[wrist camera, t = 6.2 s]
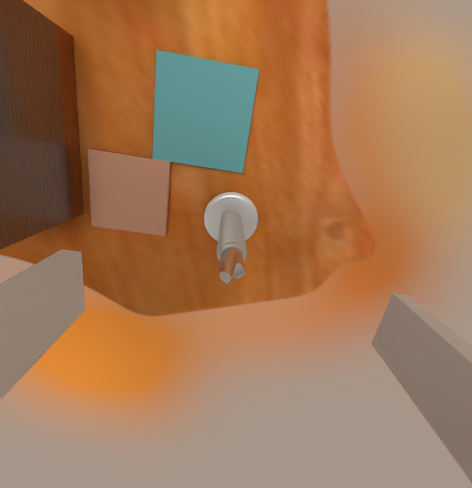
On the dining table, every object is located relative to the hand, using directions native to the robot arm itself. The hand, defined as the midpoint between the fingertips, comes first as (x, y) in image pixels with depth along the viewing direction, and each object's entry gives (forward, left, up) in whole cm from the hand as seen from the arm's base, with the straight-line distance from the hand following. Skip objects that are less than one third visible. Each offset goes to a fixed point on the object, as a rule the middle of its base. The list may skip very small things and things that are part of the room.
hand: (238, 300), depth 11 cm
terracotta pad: (-10, +1, -15) cm, 18 cm away
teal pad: (-4, +8, -15) cm, 17 cm away
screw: (0, 0, -15) cm, 15 cm away
